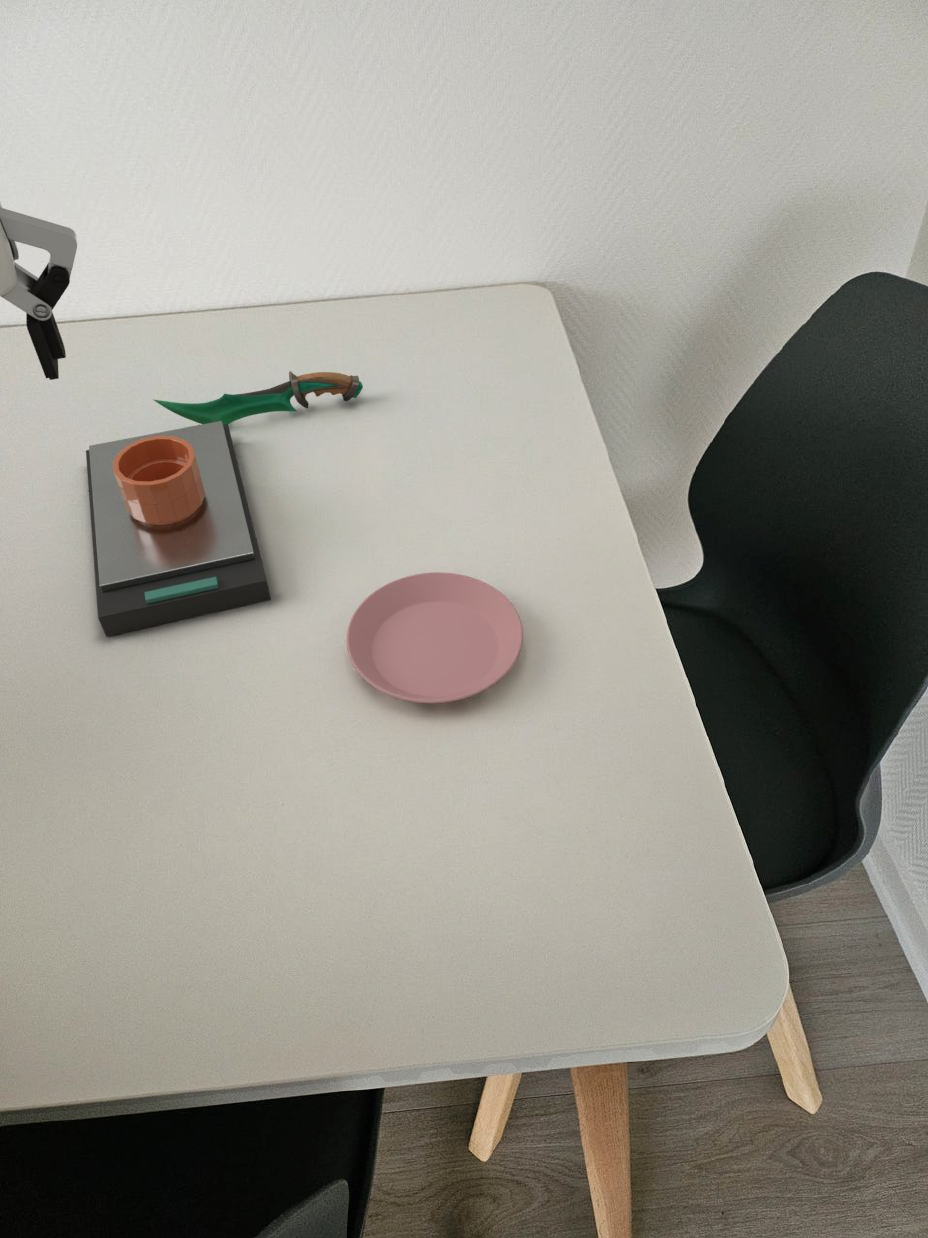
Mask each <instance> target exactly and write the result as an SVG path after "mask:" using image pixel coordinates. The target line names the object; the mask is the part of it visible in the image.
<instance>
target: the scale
mask: <svg viewBox="0 0 928 1238" xmlns="http://www.w3.org/2000/svg"><path fill="white" fill-rule="evenodd" d="M154 436H174V437H177V438H180V439H183V440H185V441H187V442H188V443H189V444H190V445H191V446H192V447H193V448H194V452H195V456H196V459H197V463H198V467H199V470H200V474H201V478H202V482H203V485H204V490H205V497H204V500H203V502H202V504H201V506H200V507H199V508H198V509H197V510H196V511H195V512H194V513H193V514H192V515H191V516H189V517H188V518H186V519H184V520H182V521H180V522H177V523H174V524H169V525H151V524H147V523H144V522H142V521H139V520H136V519H134V518H133V517H132V515H131V514H130V513H129V512H128V511H127V509H126V506H125V503H124V501H123V498H122V495H121V492H120V489H119V486H118V483H117V480H116V478H115V475H114V471H113V462H114V460H115V458H116V456H117V454H118V453H119V452H120V451H122V450H123V449H124V448H125V447H126V446H128V445H129V444H132V443H134V442H136V441H138V440H141V439H143V438H149V437H154ZM85 458H86V459H85V460H86V472H87V483H88V499H89V500H88V501H89V512H90V513H89V514H90V527H91V540H92V541H91V542H92V555H93V568H94V570H93V571H94V581H95V596H96V597H95V598H96V609H97V618H98V621H99V624H100V626H101V628H102V630H103V633H104V635H105V637H106V638H107V637H112V636H116V635H121V634H125V633H129V632H134V631H138V630H143V629H147V628H151V627H156V626H161V625H164V624H169V623H174V622H178V621H183V620H187V619H193V618H196V617H201V616H204V615H210V614H215V613H219V612H223V611H227V610H231V609H237V608H241V607H245V606H249V605H254V604H259V603H263V602H268V601H271V599H272V598H271V593H270V589H269V585H268V580H267V575H266V573H265V568H264V564H263V560H262V556H261V552H260V548H259V544H258V539H257V536H256V532H255V529H254V528H255V527H254V525H253V520H252V515H251V511H250V507H249V503H248V499H247V496H246V491H245V487H244V482H243V479H242V475H241V471H240V467H239V462H238V459H237V454H236V450H235V446H234V442H233V439H232V435H231V430H230V425H229V424H223V423H222V421H218V422H212V423H207V424H197V425H191V426H186V427H182V428H176V429H175V428H174V429H170V430H165V431H160V432H154V433H150V434H145V435H138V436H134V437H127V438H122V439H118V440H112V441H107V442H102V443H101V442H100V443H96V444H93V445H92V444H91V445H88V449H87V450H85Z"/></svg>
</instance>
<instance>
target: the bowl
mask: <svg viewBox="0 0 928 1238" xmlns="http://www.w3.org/2000/svg"><path fill="white" fill-rule="evenodd" d="M113 471H114V475H115V478H116V480H117V483H118V486H119V489H120V492H121V495H122V498H123V501H124V503H125V506H126V509H127V511H128V512H129V513H130V514H131V515H132V517H133V518H134V519H136V520H139V521H142V522H144V523H147V524H151V525H169V524H174V523H177V522H180V521H182V520H184V519H186V518H188V517H189V516H191V515H192V514H193V513H194V512H195V511H196V510H197V509H198V508H199V507H200V506H201V504H202V502H203V500H204V497H205V490H204V485H203V482H202V478H201V474H200V470H199V467H198V463H197V459H196V456H195V452H194V448H193V447H192V446H191V445H190V444H189V443H188V442H187V441H185V440H183V439H180V438H177V437H174V436H154V437H149V438H143V439H141V440H138V441H136V442H134V443H132V444H129V445H128V446H126V447H125V448H124V449H123V450H122V451H120V452H119V453H118V454H117V456H116V458H115V460H114V462H113Z"/></svg>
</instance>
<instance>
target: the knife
mask: <svg viewBox="0 0 928 1238" xmlns="http://www.w3.org/2000/svg"><path fill="white" fill-rule="evenodd" d="M288 379H289V380H288V381H285V382H283V383H280V384H278V385H275V386H273V387H270V388H266V389H261V390H256V391H250V392H244V393H236V394H231V393H224V394H223V395H222V396H221V397H219V398H216V399H214V400H211V401H207V402H199V403H198V402H197V403H189V402H188V403H187V402H186V403H185V402H175V401H166V400H161V399H160V400H159V399H153V401H154V402H155V403H157V404H158V405H160V406H162V407H163V408H164V409H167V410H168V411H170V412H172V413H174V414H176V415H177V416H180V417H181V418H184V419H187V420H190V421H192V422H195V423H198V424H199V425H202V424H207V423H212V422H218V421H222V423H223V424H228V425H229V424H232V423H234V422H236V421H238V420H241V419H244V418H247V417H251V416H256V415H259V414H265V413H267V414H268V413H274V412H297V409H296V408H295V407H294V406H293V404H292V402H291V399H292V398H293V397H294V398H295V400H296V402H297V403H298V404H299V405H300V406H301V407H303V408H304V409H309V405H310V403H309V401H308V400H307V398H306V396H307V395H308V394H311V393H314V395H315V397H317V398H318V397H320V396H321V395H324V394H326V393H328V394H329V393H330V395H332V396H335V395H341V397H342V400H343V402H349V401H350V400H351V399H357V398H358V396H359V395H360V394H361V392H362V390H363V388H364V385H363V383H362V381H360V377H359V376H358V375H352V374H350V375H347V374H344V373H341V372H333V371H319V372H317V371H316V372H309V373H305V374H301V375H298V376H297V375H296V374H295V373H293V372H292V370H289V372H288Z"/></svg>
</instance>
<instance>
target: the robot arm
mask: <svg viewBox="0 0 928 1238" xmlns="http://www.w3.org/2000/svg"><path fill="white" fill-rule="evenodd" d="M17 243H21V244H23V245H27V246H30V247H34V248H38V249H42V250H44V251H47V253H49V260H48V263H47V264H46V265H45V267H44V269H43V270H42V272H41V273H40V275H39V277H38V276H36V275H35V274H33V273H32V272H30V271H29V270H28V269H26V268H24V267H23V266H22V265H20V264H18V263H17V262H15V261H17V260H19V258H20V257H19V256H20V255H19V248H18V246H17ZM77 248H78V239H77V234H76V231H74V229H72V228H71V227H68V226H64V225H61V224H58V223H54V222H51V221H47V220H44V219H41V218H38V217H35V216H32V215H28V214H24V213H21V212H17V211H15V210H10V209H8V208H7V209H6V208H3V205H2V203H1V202H0V297H1V298H2V299H4V300H5V301H7V302H8V303H10V304H12V305H13V306H15V307H16V308H18V309H20V310H21V311H23V312H24V313H26V314H25V315H26V317H25V318H26V319H25V321H26V329H27V332H28V334H29V337H30V339H31V343H32V345H33V347H34V350H35V354H36V356H37V359H38V361H39V364H40V366H41V368H42V372H43V374H44V376H45V379H49V380H50V381H53V380H59V379H60V375H59V360H61V359H66V358H67V355H66V348H65V345H64V341H63V338H62V336H61V332H60V329H59V327H58V324H57V321H56V318H55V315H54V313H53V310H54V308H55V307H56V305H57V304H58V302H59V300H60V299H61V298H62V296H63V295H64V293H65V291H66V290H67V289H68V287H69V285H70V283H71V275H72V270H73V267H74V262H75V259H76V258H75V257H76V254H77Z"/></svg>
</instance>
